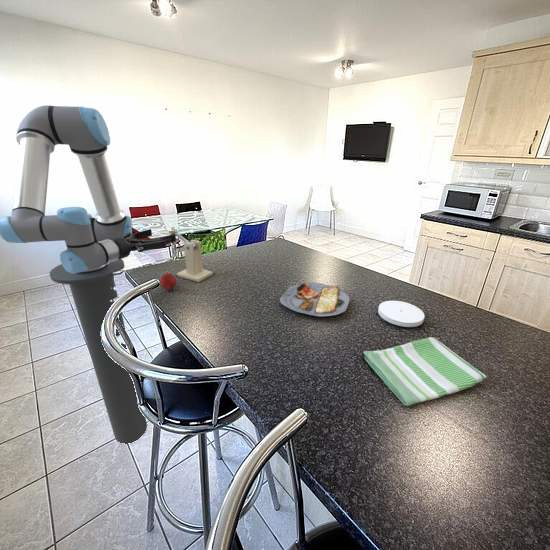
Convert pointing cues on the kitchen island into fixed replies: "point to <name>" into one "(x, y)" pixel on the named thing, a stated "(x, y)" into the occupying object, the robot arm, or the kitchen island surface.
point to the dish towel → (422, 370)
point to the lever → (175, 231)
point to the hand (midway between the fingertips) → (162, 234)
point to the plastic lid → (401, 313)
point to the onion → (168, 281)
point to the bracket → (194, 263)
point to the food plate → (315, 299)
